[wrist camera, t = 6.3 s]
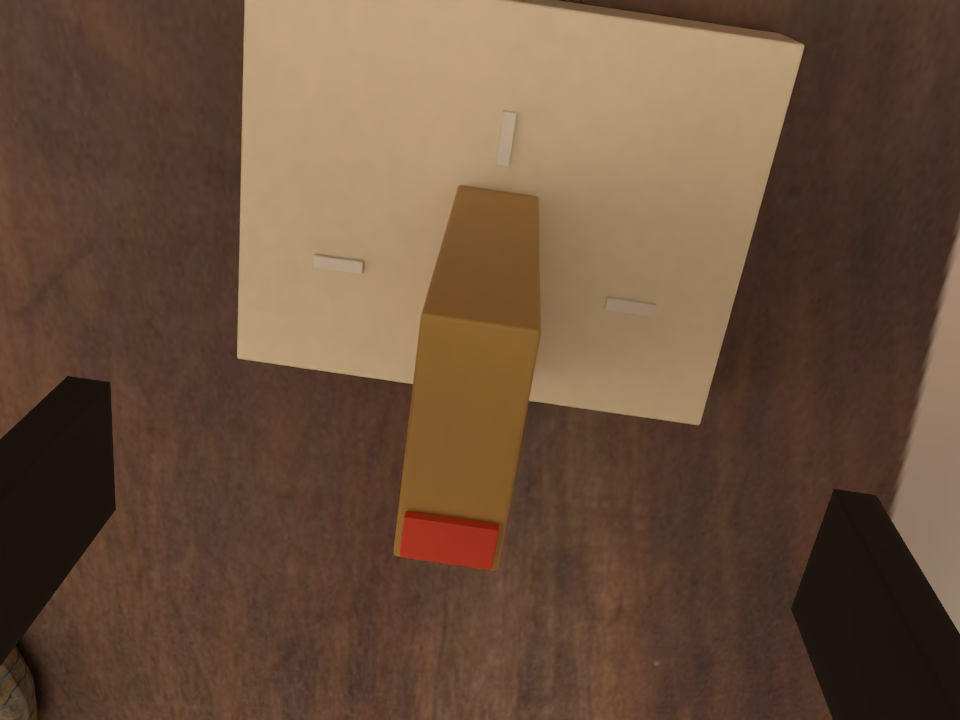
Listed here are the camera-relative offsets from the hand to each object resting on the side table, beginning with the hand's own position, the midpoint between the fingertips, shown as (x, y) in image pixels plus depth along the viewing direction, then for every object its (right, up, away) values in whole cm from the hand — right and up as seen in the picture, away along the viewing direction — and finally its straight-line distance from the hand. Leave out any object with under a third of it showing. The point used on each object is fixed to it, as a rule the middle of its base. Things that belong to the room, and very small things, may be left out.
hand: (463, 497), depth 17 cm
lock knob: (0, +5, +9) cm, 10 cm away
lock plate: (+1, +8, +11) cm, 13 cm away
